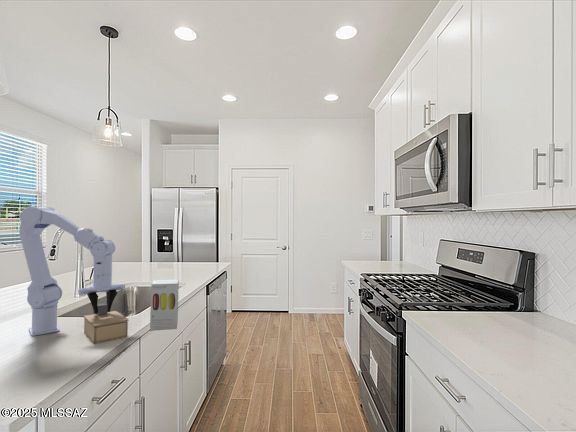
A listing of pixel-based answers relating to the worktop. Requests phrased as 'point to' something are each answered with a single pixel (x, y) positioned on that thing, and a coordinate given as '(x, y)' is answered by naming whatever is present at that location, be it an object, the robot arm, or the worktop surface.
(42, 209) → the robot arm
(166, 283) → the supplement box
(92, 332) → the carton
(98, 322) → the carton lid
